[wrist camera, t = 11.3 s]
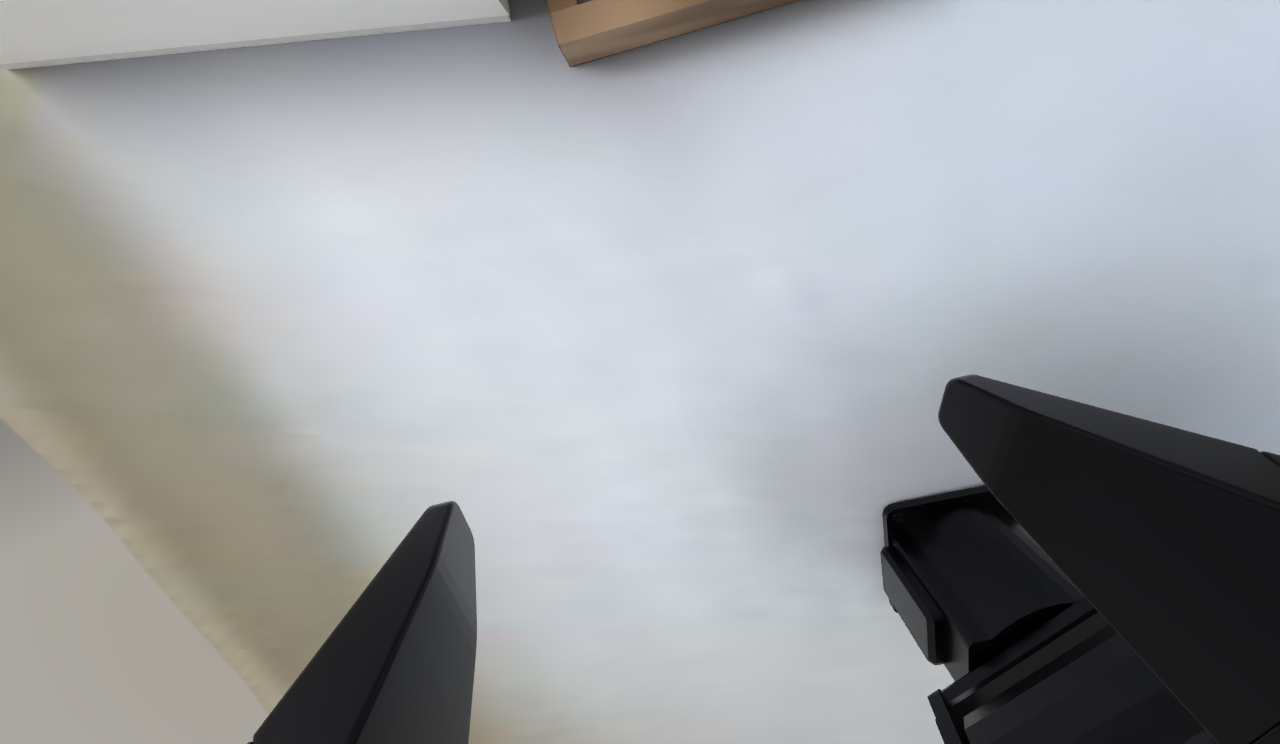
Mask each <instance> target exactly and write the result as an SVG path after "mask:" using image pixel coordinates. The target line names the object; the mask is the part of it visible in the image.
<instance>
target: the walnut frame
mask: <svg viewBox="0 0 1280 744" xmlns="http://www.w3.org/2000/svg"><path fill="white" fill-rule="evenodd" d="M546 1H547V5H548V8H549V12H550V16H551V20H552V24H553V28H554V31H555V35H556V39H557V43H558V46H559V48H560V50H561V51H562V53H563V55H564V57H565V59H566V61H567V62H568V64H569V66H570V67H571V66H575V65H578V64H582V63H585V62H589V61H592V60H595V59H599V58H602V57H606V56H609V55H613V54H616V53H620V52H623V51H626V50H630V49H633V48H637V47H640V46H644V45H647V44H651V43H654V42H658V41H661V40H664V39H668V38H671V37H675V36H678V35H682V34H685V33H689V32H692V31H696V30H699V29H702V28H706V27H709V26H713V25H716V24H720V23H723V22H727V21H730V20H734V19H737V18H740V17H744V16H747V15H751V14H754V13H758V12H761V11H765V10H768V9H771V8H775V7H778V6H782V5H785V4H789V3H792V2H796V1H799V0H592V1H588V2H585V3H582V4H579V2H578V0H546Z"/></svg>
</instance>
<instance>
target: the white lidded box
mask: <svg viewBox="0 0 1280 744" xmlns="http://www.w3.org/2000/svg"><path fill="white" fill-rule="evenodd" d="M510 21H511V16H510V9H509V2H508V0H0V68H1V69H6V70H12V69H23V68H33V67H44V66H54V65H64V64H75V63H85V62H95V61H106V60H116V59H127V58H137V57H147V56H158V55H168V54H178V53H189V52H199V51H210V50H220V49H230V48H241V47H251V46H261V45H272V44H282V43H292V42H303V41H313V40H324V39H334V38H344V37H355V36H365V35H375V34H386V33H396V32H407V31H417V30H427V29H438V28H448V27H458V26H469V25H479V24H490V23H500V22H510Z"/></svg>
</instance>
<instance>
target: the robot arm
mask: <svg viewBox="0 0 1280 744" xmlns="http://www.w3.org/2000/svg"><path fill="white" fill-rule="evenodd" d="M938 418H939V422H940V424H941V426H942V428H943V429H944V431H945V432H946V433H947V435H948V436H949V437H950V439H951V440H952V441H953V443H954V444H955V445H956V447H957V448H958V449H959V451H960V452H961V453H962V455H963V456H964V457H965V459H966V460H967V461H968V463H969V464H970V465H971V467H972V468H973V469H974V471H975V472H976V473H977V475H978V476H979V477H980V479H981V480H982V481H983V483H984V484H985V486H980V487H975V488H970V489H965V490H960V491H955V492H950V493H945V494H940V495H935V496H930V497H924V498H919V499H914V500H909V501H904V502H899V503H894V504H891V505H888V506H887V507H886V508H885V509H884V510H883V514H882V515H883V528H884V540H885V547H883V549H882V551H881V562H882V574H883V586H884V591H885V592H886V594H887V596H888V597H889V602H890V604H891V606H892V608H893V609H894V611H895V612H897V613H899V615H900V617H901V618H902V620H903V621H904V623H905V625H906V626H907V628H908V630H909V631H910V633H911V634H912V636H913V638H914V639H915V641H916V643H917V644H918V646H919V647H920V649H921V651H922V652H923V654H924V655H925V657H926V659H927V660H928V661H929V662H931V663H932V664H934V665H940V664H944V665H945V667H946V668H947V670H948V671H949V673H950V674H951V676H952V677H953V679H954V681H955V682H954V683H953V684H951V685H950V686H948V687H947V688H945V689H944V690H942V691H941V690H940V689H938V690H937V691H935V692H934V693H932V694H931V695H929V696H928V700H929V702H930V705H931V707H932V710H933V712H934V715H935V717H936V719H935V721H936V724H937V726H938V729H939V731H940V734H941V736H942V738H943V741H944V743H945V744H1280V455H1276V454H1273V453H1269V452H1259V451H1258V450H1256V449H1253V448H1249V447H1246V446H1242V445H1238V444H1234V443H1231V442H1227V441H1223V440H1219V439H1215V438H1212V437H1208V436H1204V435H1200V434H1197V433H1193V432H1189V431H1185V430H1181V429H1178V428H1174V427H1170V426H1166V425H1163V424H1159V423H1155V422H1151V421H1148V420H1144V419H1140V418H1136V417H1132V416H1129V415H1125V414H1121V413H1117V412H1114V411H1110V410H1106V409H1102V408H1098V407H1095V406H1091V405H1087V404H1083V403H1080V402H1076V401H1072V400H1068V399H1064V398H1061V397H1057V396H1053V395H1049V394H1046V393H1042V392H1038V391H1034V390H1031V389H1027V388H1023V387H1019V386H1015V385H1012V384H1008V383H1004V382H1000V381H997V380H993V379H989V378H985V377H981V376H978V375H966V376H962V377H958V378H954V379H952V380H950V381H949V382H948V383H947V385H946V387H945V391H944V395H943V398H942V402H941V406H940V409H939V413H938ZM897 513H898V515H897V516H895V517H893V516H894V515H895V514H897ZM476 643H477V613H476V579H475V547H474V539H473V535H472V532H471V530H470V528H469V526H468V524H467V522H466V520H465V517H464V515H463V513H462V511H461V509H460V507H459V505H458V504H457V503H456V502H454V501H449V502H445V503H441V504H437V505H433V506H430V507H429V508H428V509H427V510H426V511H425V512H424V513H423V515H422V516H421V517H420V519H419V520H418V521H417V522H416V524H415V525H414V526H413V528H412V529H411V530H410V532H409V533H408V534H407V536H406V537H405V538H404V539H403V541H402V542H401V543H400V545H399V546H398V547H397V549H396V550H395V551H394V552H393V554H392V555H391V556H390V558H389V559H388V560H387V562H386V563H385V564H384V566H383V567H382V568H381V569H380V571H379V572H378V573H377V575H376V576H375V577H374V579H373V580H372V581H371V583H370V584H369V585H368V586H367V588H366V589H365V590H364V592H363V593H362V594H361V596H360V597H359V598H358V600H357V601H356V602H355V603H354V605H353V606H352V607H351V609H350V610H349V611H348V613H347V614H346V615H345V617H344V618H343V619H342V620H341V622H340V623H339V624H338V626H337V627H336V628H335V630H334V631H333V632H332V634H331V635H330V636H329V637H328V639H327V640H326V641H325V643H324V644H323V645H322V647H321V648H320V649H319V650H318V652H317V653H316V654H315V656H314V657H313V658H312V660H311V661H310V662H309V664H308V665H307V666H306V667H305V669H304V670H303V671H302V673H301V674H300V675H299V677H298V678H297V679H296V681H295V682H294V683H293V684H292V686H291V687H290V688H289V690H288V691H287V692H286V694H285V695H284V696H283V698H282V699H281V700H280V701H279V703H278V704H277V705H276V707H275V708H274V709H273V711H272V712H271V713H270V715H269V716H268V717H267V718H266V720H265V721H264V722H263V724H262V725H261V726H260V728H259V729H258V730H257V731H256V733H255V734H254V737H253V742H249V743H247V744H468V741H469V729H470V717H471V705H472V694H473V682H474V670H475V658H476Z"/></svg>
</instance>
